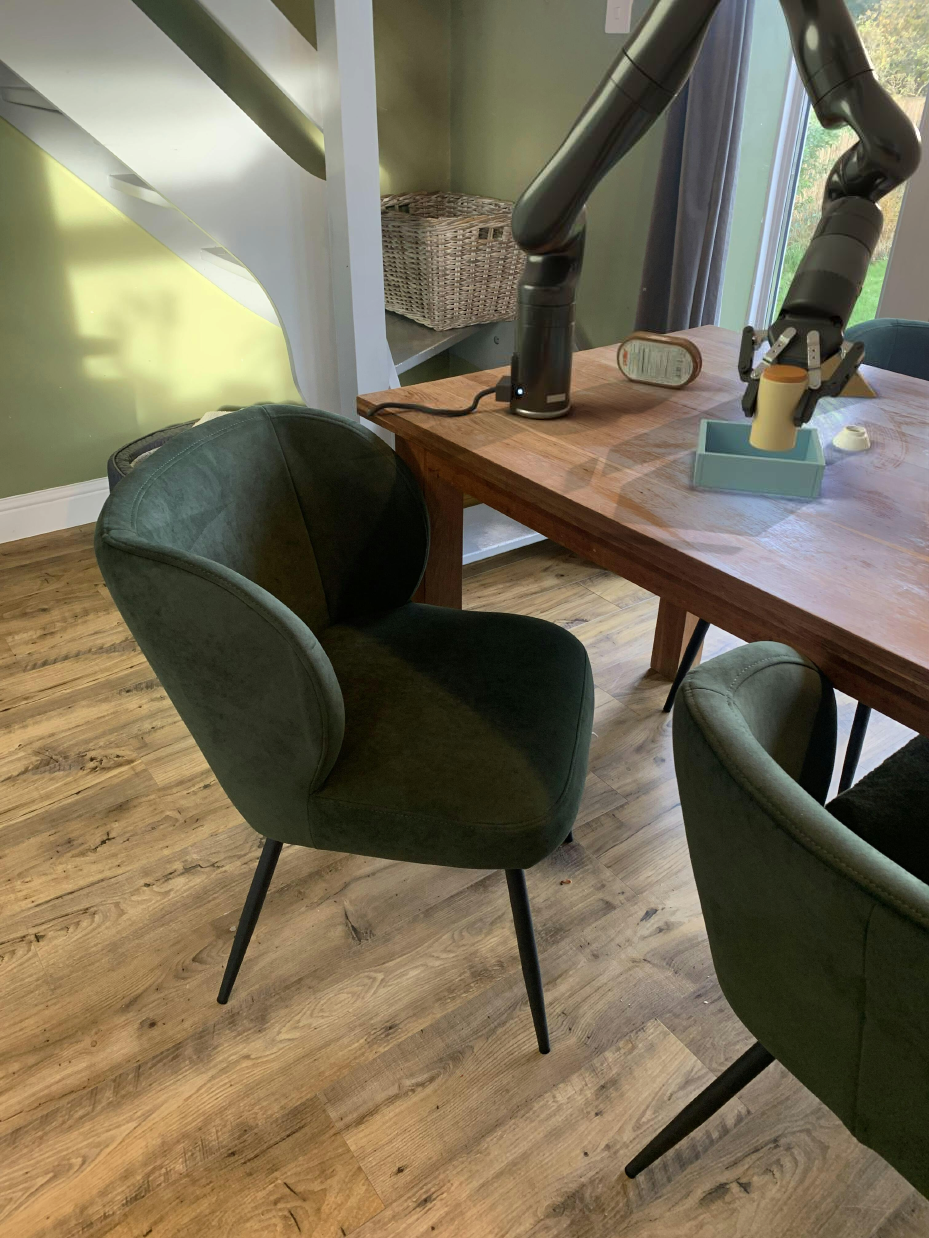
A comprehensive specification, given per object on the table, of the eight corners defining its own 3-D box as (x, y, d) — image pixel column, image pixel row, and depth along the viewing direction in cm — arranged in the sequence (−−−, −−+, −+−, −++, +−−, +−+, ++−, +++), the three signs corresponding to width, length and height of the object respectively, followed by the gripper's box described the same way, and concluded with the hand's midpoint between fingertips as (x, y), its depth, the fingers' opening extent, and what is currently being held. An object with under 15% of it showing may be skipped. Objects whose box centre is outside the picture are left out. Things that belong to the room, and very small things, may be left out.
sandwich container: (878, 398, 148) (902, 306, 140) (784, 394, 149) (802, 303, 141) (866, 383, 155) (888, 294, 147) (776, 379, 157) (793, 291, 149)
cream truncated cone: (825, 443, 130) (844, 455, 126) (829, 424, 128) (849, 435, 124) (855, 441, 131) (875, 453, 126) (860, 421, 129) (880, 433, 125)
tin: (699, 388, 152) (706, 339, 147) (692, 393, 150) (699, 343, 145) (619, 375, 159) (623, 327, 154) (612, 379, 156) (616, 331, 152)
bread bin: (692, 490, 115) (698, 453, 113) (696, 452, 126) (701, 418, 124) (816, 502, 112) (825, 465, 109) (809, 463, 123) (817, 428, 120)
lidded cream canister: (749, 449, 100) (762, 375, 95) (748, 434, 104) (761, 363, 99) (795, 453, 99) (810, 378, 94) (793, 438, 103) (807, 366, 98)
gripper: (759, 260, 100) (705, 391, 98) (892, 274, 93) (836, 414, 91) (766, 300, 107) (715, 423, 105) (890, 315, 100) (838, 447, 98)
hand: (772, 418), depth 98 cm, fingers closed on lidded cream canister, 5 cm apart
